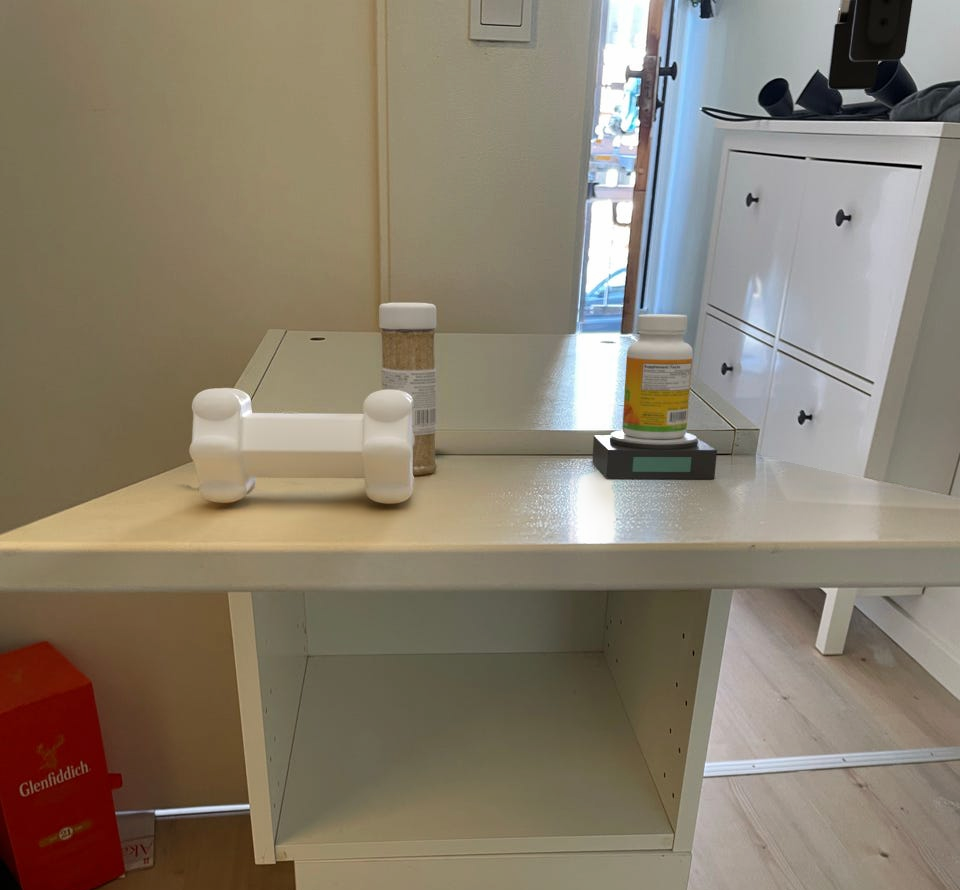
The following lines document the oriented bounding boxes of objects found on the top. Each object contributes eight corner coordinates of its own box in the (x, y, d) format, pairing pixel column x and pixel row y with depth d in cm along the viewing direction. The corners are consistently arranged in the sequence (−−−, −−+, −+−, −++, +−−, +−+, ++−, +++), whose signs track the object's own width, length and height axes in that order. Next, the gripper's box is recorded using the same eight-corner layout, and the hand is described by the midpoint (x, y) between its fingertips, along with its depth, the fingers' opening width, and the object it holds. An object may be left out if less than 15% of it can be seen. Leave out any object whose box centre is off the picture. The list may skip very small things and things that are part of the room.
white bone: (191, 515, 67) (179, 392, 64) (219, 489, 75) (210, 379, 72) (411, 516, 67) (410, 394, 64) (415, 490, 75) (414, 381, 72)
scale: (691, 462, 88) (694, 429, 87) (714, 479, 81) (718, 442, 80) (592, 462, 87) (594, 428, 86) (606, 479, 80) (608, 442, 79)
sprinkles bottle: (420, 465, 85) (419, 302, 80) (446, 473, 81) (446, 303, 77) (373, 469, 83) (369, 302, 78) (398, 478, 79) (395, 303, 75)
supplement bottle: (624, 429, 86) (631, 313, 83) (686, 432, 85) (696, 314, 82) (619, 438, 81) (627, 315, 78) (685, 441, 80) (696, 316, 77)
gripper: (1016, -337, 50) (956, 45, 56) (936, -189, 66) (895, 97, 72) (863, -323, 52) (820, 49, 58) (820, -181, 68) (790, 99, 73)
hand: (862, 75), depth 65 cm, fingers open, 9 cm apart
